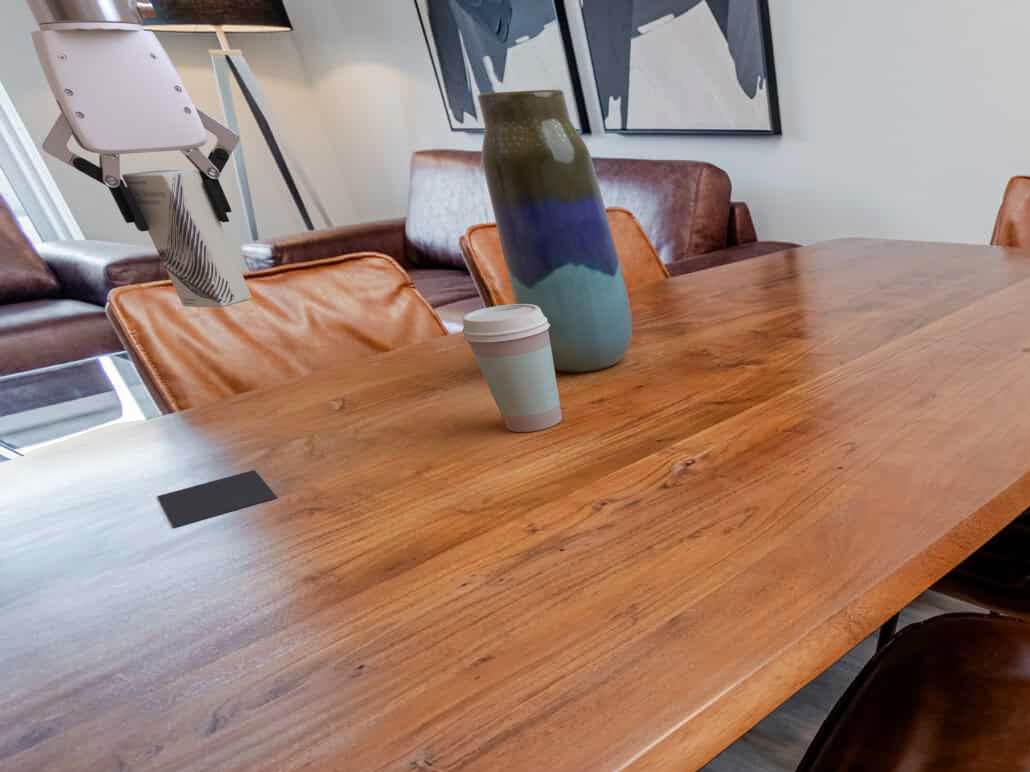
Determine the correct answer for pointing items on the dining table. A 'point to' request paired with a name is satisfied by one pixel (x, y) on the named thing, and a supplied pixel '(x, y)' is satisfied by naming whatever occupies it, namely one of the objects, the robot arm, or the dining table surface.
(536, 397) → the coffee cup
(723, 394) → the dining table surface
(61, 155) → the robot arm
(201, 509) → the edge mat
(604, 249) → the vase
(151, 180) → the box
